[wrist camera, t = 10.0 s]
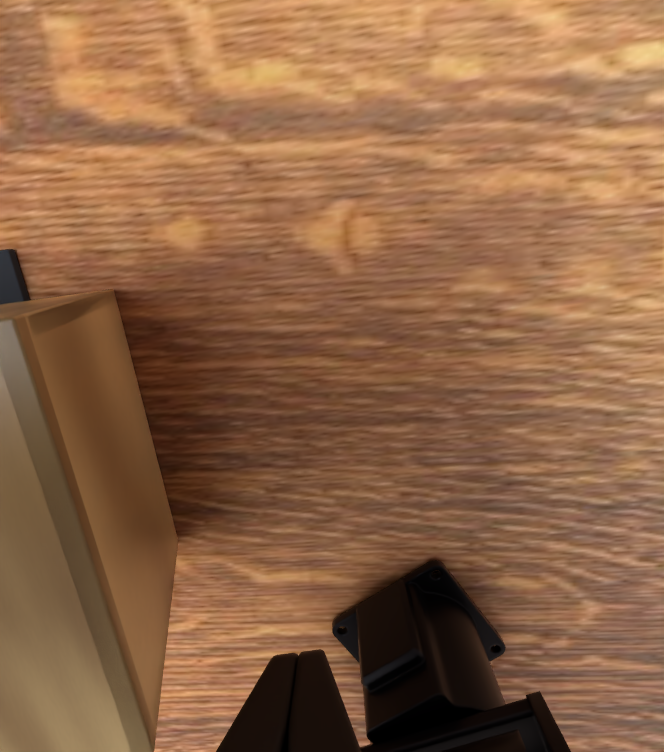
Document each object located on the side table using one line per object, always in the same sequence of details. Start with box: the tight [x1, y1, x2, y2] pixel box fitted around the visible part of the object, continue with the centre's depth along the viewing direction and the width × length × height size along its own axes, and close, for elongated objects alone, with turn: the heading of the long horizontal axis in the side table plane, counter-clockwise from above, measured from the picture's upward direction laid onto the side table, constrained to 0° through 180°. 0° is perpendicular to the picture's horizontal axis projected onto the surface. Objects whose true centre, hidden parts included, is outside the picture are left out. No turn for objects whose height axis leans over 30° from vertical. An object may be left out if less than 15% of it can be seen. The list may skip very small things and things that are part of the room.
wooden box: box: [0, 289, 178, 752], centre depth 15 cm, size 10×12×7 cm
